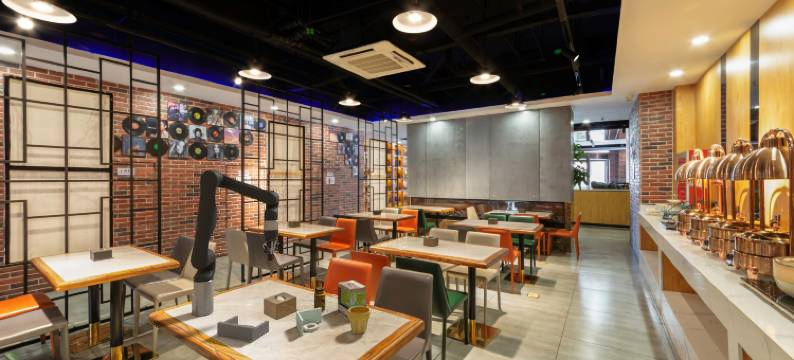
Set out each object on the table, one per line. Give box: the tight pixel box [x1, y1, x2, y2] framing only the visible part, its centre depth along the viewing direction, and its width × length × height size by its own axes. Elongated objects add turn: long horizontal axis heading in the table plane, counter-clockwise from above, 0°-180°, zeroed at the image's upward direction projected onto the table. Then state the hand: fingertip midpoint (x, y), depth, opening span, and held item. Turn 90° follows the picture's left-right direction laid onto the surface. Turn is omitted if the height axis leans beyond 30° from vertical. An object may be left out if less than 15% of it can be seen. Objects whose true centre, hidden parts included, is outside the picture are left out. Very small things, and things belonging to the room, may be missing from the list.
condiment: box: [307, 286, 328, 313], centre depth 186 cm, size 7×8×12 cm
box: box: [216, 315, 270, 343], centre depth 157 cm, size 19×11×6 cm, turn 73°
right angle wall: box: [295, 308, 323, 337], centre depth 163 cm, size 12×12×8 cm
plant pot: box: [347, 306, 371, 334], centre depth 161 cm, size 10×10×10 cm
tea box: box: [337, 280, 367, 317], centre depth 184 cm, size 15×10×15 cm
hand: (270, 260), depth 186 cm, fingers closed
